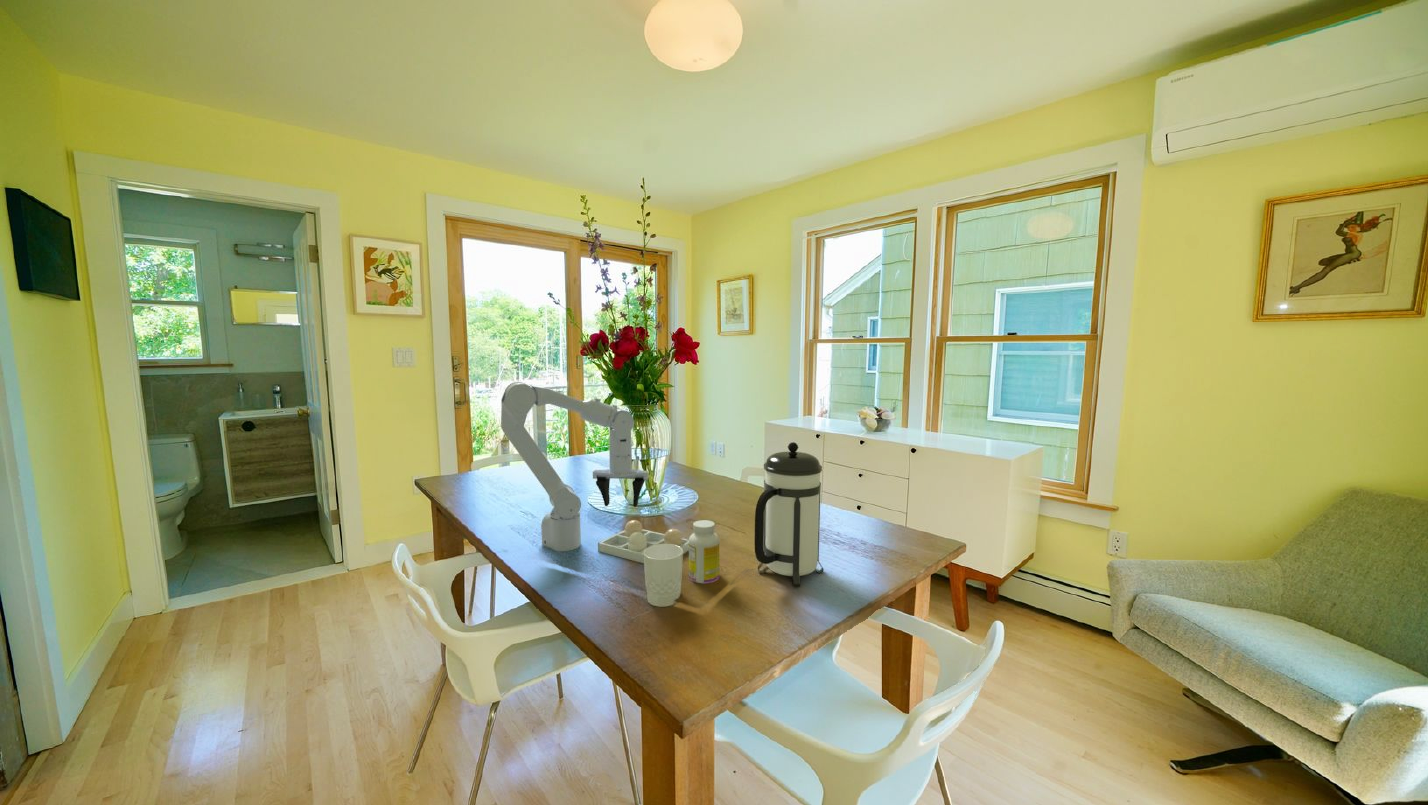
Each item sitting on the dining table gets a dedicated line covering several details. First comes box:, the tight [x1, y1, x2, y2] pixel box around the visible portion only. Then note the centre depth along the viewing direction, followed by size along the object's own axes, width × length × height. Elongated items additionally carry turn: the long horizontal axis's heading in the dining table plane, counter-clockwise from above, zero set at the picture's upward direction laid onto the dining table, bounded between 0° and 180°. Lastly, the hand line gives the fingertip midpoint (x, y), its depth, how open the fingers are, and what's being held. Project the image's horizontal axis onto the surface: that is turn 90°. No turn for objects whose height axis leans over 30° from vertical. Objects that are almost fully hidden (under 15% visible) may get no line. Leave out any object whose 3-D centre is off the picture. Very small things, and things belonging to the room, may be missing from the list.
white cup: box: [643, 544, 684, 608], centre depth 97 cm, size 8×8×10 cm
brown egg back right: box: [664, 528, 683, 547], centre depth 119 cm, size 4×4×5 cm
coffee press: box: [754, 441, 824, 588], centre depth 108 cm, size 17×16×30 cm
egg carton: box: [597, 528, 689, 564], centre depth 120 cm, size 19×13×3 cm
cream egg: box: [628, 532, 647, 552], centre depth 117 cm, size 4×4×5 cm
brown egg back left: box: [624, 519, 643, 537], centre depth 126 cm, size 4×4×5 cm
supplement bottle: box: [688, 519, 720, 584], centre depth 105 cm, size 7×7×13 cm
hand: (621, 505), depth 128 cm, fingers open, 7 cm apart
